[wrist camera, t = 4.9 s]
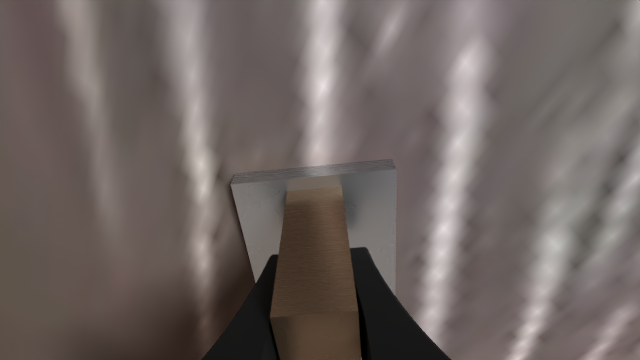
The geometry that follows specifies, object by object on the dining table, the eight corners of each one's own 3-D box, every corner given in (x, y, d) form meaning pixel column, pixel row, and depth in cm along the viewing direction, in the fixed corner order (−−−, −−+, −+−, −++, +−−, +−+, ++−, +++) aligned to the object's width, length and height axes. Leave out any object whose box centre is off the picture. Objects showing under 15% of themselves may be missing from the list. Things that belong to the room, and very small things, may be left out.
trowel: (391, 159, 13) (449, 287, 7) (391, 292, 16) (431, 449, 11) (235, 174, 13) (176, 309, 8) (266, 302, 17) (241, 461, 11)
